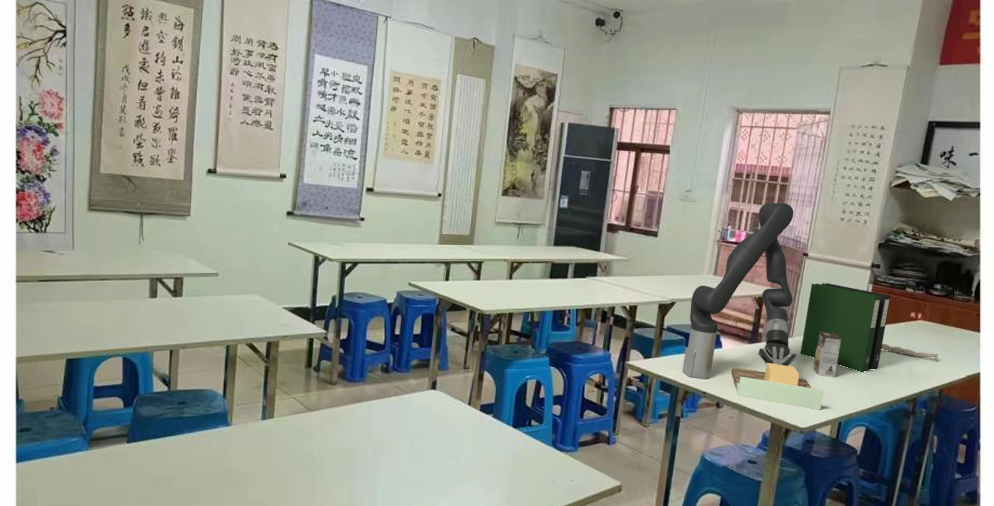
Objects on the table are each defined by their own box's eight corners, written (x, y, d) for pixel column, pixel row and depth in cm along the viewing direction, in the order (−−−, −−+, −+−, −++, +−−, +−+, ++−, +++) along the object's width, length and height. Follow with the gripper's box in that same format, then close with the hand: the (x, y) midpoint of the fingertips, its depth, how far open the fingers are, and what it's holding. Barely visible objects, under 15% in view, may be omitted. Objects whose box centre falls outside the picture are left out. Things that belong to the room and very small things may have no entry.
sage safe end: (736, 389, 232) (738, 371, 232) (815, 403, 226) (819, 384, 225) (737, 395, 226) (740, 377, 225) (820, 409, 219) (823, 391, 219)
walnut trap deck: (731, 373, 253) (732, 366, 252) (804, 385, 246) (805, 378, 246) (737, 394, 227) (738, 387, 226) (819, 408, 220) (820, 401, 220)
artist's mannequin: (938, 358, 319) (867, 345, 337) (939, 349, 319) (868, 337, 336) (935, 367, 297) (860, 353, 314) (937, 357, 297) (861, 344, 314)
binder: (799, 354, 295) (810, 283, 291) (816, 351, 304) (827, 282, 300) (861, 372, 274) (875, 296, 269) (878, 369, 282) (891, 295, 278)
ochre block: (763, 384, 233) (766, 362, 232) (790, 389, 231) (794, 367, 230) (767, 392, 224) (770, 369, 223) (795, 397, 222) (799, 374, 221)
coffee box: (812, 368, 271) (818, 330, 269) (828, 371, 270) (835, 333, 268) (818, 375, 262) (824, 336, 260) (835, 377, 261) (842, 338, 259)
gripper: (759, 325, 241) (759, 367, 231) (798, 331, 238) (799, 373, 228) (756, 336, 247) (755, 377, 237) (794, 342, 244) (794, 384, 233)
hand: (777, 375), depth 232 cm, fingers closed
